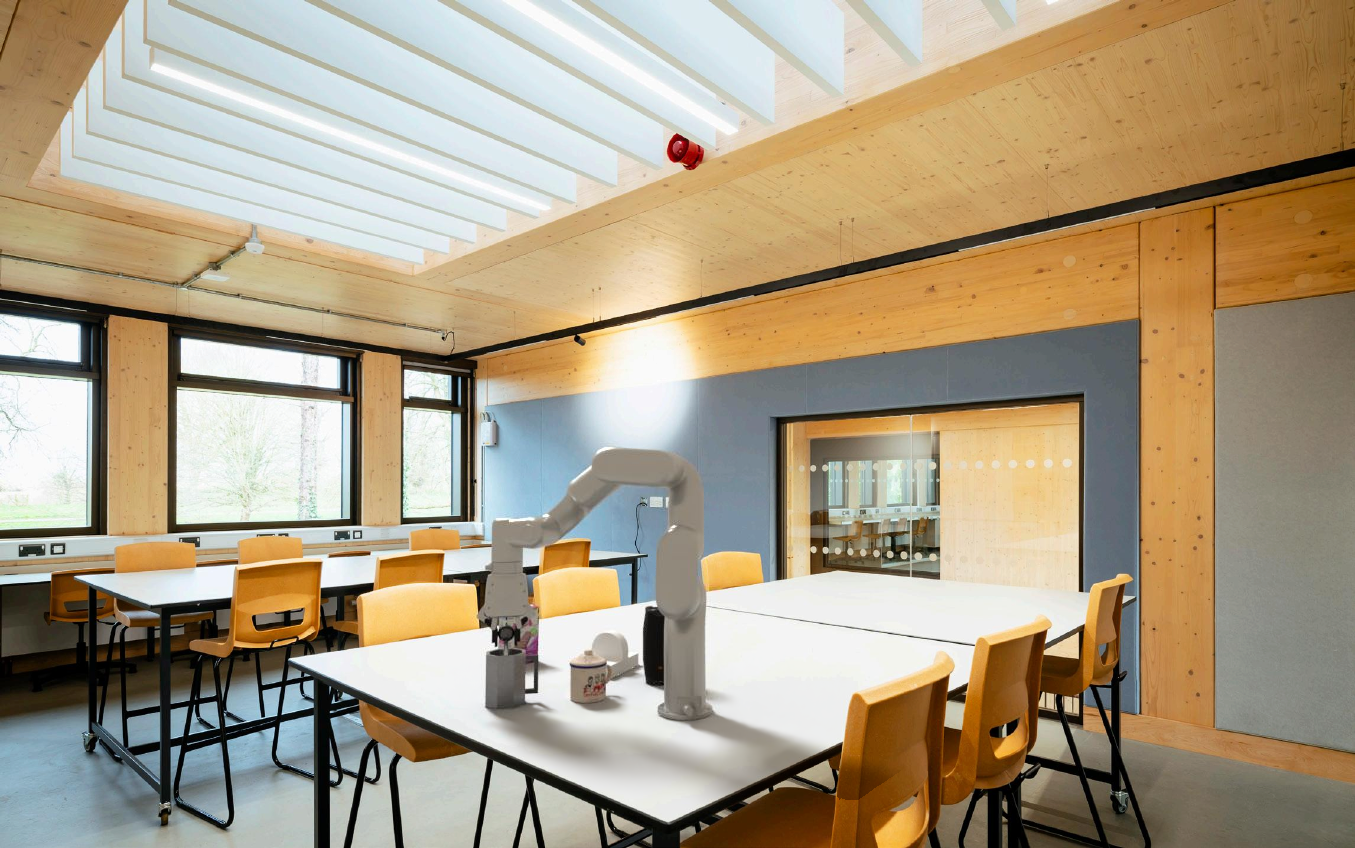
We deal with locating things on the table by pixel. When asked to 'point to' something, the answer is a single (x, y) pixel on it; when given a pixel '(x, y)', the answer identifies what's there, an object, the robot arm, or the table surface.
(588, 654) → the teacup with lid
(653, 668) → the portable speaker
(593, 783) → the table surface
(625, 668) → the white arched block
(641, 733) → the table surface
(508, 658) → the grey faceted mug
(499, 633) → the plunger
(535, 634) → the candy bar box
